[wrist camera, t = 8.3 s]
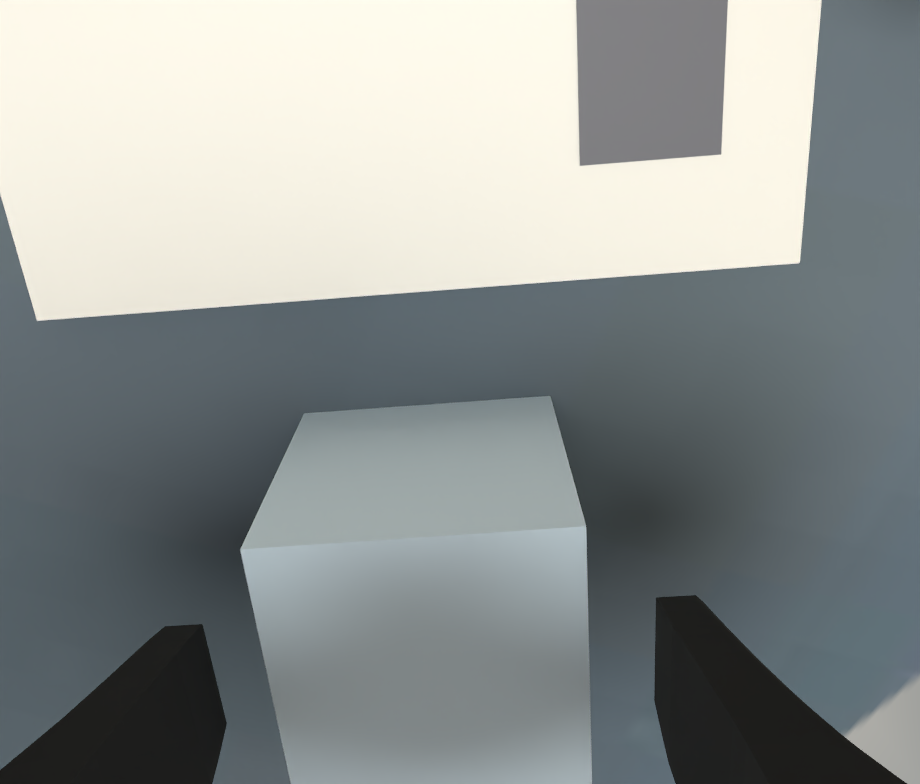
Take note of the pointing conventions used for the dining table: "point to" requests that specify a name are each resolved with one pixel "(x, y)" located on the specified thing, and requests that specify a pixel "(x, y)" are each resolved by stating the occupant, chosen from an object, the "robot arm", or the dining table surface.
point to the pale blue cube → (426, 597)
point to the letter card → (395, 145)
